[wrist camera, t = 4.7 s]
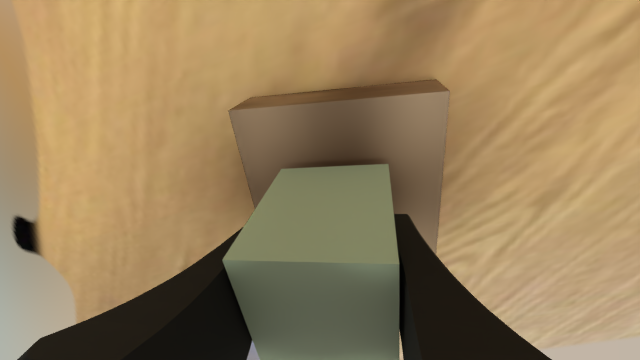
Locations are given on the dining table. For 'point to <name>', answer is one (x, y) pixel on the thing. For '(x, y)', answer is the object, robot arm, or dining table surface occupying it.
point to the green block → (320, 266)
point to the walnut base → (353, 140)
